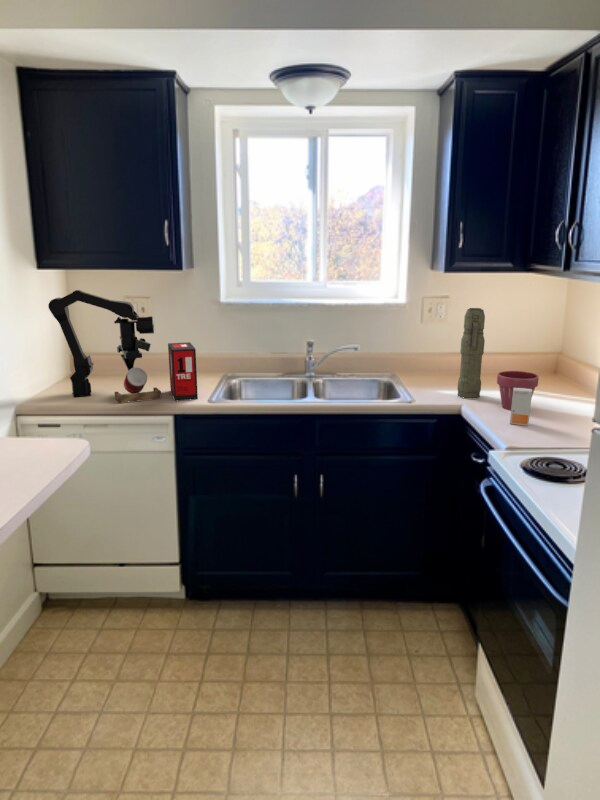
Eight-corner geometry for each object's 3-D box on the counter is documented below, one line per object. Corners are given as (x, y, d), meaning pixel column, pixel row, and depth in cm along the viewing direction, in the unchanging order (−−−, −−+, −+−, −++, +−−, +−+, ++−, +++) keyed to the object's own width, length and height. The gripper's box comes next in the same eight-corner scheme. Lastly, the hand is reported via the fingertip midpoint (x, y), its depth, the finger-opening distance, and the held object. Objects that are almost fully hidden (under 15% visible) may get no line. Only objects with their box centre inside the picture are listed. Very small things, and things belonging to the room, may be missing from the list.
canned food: (135, 398, 234) (140, 389, 225) (119, 386, 233) (122, 377, 223) (146, 384, 238) (151, 375, 228) (130, 372, 236) (134, 363, 227)
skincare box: (509, 424, 195) (512, 389, 192) (509, 420, 199) (513, 387, 196) (528, 426, 193) (532, 391, 190) (528, 422, 197) (532, 388, 194)
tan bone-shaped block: (118, 403, 221) (117, 395, 220) (115, 399, 227) (114, 391, 226) (161, 398, 228) (160, 391, 227) (156, 394, 234) (156, 387, 233)
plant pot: (486, 406, 217) (489, 373, 214) (509, 401, 225) (512, 368, 222) (520, 415, 206) (523, 380, 203) (543, 409, 214) (546, 375, 210)
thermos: (460, 399, 227) (467, 310, 218) (454, 392, 238) (460, 307, 229) (483, 400, 226) (491, 310, 217) (476, 392, 238) (483, 307, 229)
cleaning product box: (197, 399, 228) (195, 348, 222) (174, 400, 225) (172, 350, 220) (192, 389, 243) (190, 342, 238) (170, 391, 240) (167, 343, 235)
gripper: (153, 335, 226) (156, 374, 230) (142, 329, 242) (145, 366, 246) (124, 337, 221) (127, 377, 225) (115, 331, 237) (118, 368, 241)
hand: (130, 372), depth 235 cm, fingers closed
